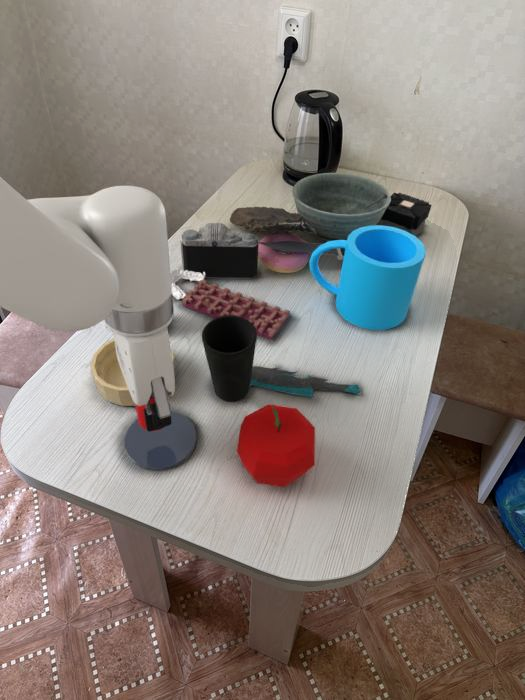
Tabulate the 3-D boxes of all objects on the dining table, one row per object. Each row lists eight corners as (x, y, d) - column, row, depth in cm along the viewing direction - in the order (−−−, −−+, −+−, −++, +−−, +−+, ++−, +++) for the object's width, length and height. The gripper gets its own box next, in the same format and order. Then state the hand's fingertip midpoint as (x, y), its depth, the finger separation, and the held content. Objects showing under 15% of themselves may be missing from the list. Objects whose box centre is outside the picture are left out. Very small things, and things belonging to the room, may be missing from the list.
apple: (323, 490, 67) (333, 445, 60) (244, 505, 65) (245, 460, 58) (300, 426, 74) (307, 380, 67) (229, 438, 72) (229, 392, 65)
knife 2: (358, 409, 77) (361, 385, 80) (359, 404, 76) (362, 381, 80) (205, 378, 80) (214, 356, 84) (204, 373, 80) (214, 352, 83)
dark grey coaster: (135, 481, 66) (135, 479, 66) (116, 425, 73) (116, 423, 72) (206, 455, 70) (206, 453, 69) (183, 404, 76) (182, 401, 76)
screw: (383, 196, 105) (385, 192, 105) (387, 199, 105) (389, 195, 104) (361, 208, 101) (363, 205, 100) (365, 212, 101) (367, 208, 100)
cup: (255, 408, 76) (256, 355, 67) (205, 406, 76) (198, 353, 67) (256, 369, 81) (257, 315, 72) (209, 368, 81) (204, 314, 72)
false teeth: (182, 266, 100) (182, 258, 98) (207, 281, 99) (208, 272, 97) (156, 291, 96) (155, 282, 94) (182, 306, 95) (182, 298, 93)
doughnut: (316, 272, 103) (320, 256, 100) (267, 281, 100) (269, 264, 97) (295, 240, 110) (298, 224, 106) (248, 247, 106) (250, 230, 103)
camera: (256, 260, 104) (258, 216, 97) (257, 279, 100) (259, 235, 93) (184, 258, 104) (181, 214, 97) (182, 278, 99) (178, 233, 92)
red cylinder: (143, 435, 66) (138, 407, 62) (134, 412, 68) (129, 383, 64) (174, 425, 67) (171, 397, 63) (164, 402, 70) (161, 374, 66)
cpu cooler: (371, 228, 116) (412, 243, 112) (376, 205, 112) (419, 220, 108) (389, 210, 122) (429, 224, 119) (395, 188, 118) (436, 202, 115)
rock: (291, 223, 117) (227, 223, 115) (292, 206, 116) (227, 206, 113) (322, 235, 94) (242, 235, 91) (323, 214, 93) (243, 214, 90)
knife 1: (389, 266, 106) (381, 249, 109) (393, 260, 105) (385, 243, 108) (258, 256, 95) (253, 237, 98) (261, 249, 94) (256, 230, 97)
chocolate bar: (201, 284, 98) (200, 276, 96) (289, 316, 92) (290, 308, 90) (180, 304, 93) (179, 296, 92) (271, 340, 87) (272, 331, 86)
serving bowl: (106, 418, 74) (101, 400, 71) (88, 363, 81) (83, 345, 79) (185, 393, 78) (184, 375, 75) (161, 343, 86) (159, 325, 83)
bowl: (334, 269, 103) (342, 226, 96) (270, 226, 115) (272, 184, 108) (400, 238, 113) (411, 197, 106) (335, 201, 124) (341, 161, 117)
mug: (412, 296, 98) (431, 236, 89) (398, 338, 89) (418, 276, 80) (316, 270, 103) (325, 210, 94) (294, 308, 94) (301, 246, 85)
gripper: (86, 269, 58) (110, 378, 71) (122, 364, 48) (143, 473, 60) (149, 257, 61) (161, 364, 73) (197, 344, 50) (202, 452, 63)
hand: (153, 412), depth 67 cm, fingers closed on red cylinder, 4 cm apart
